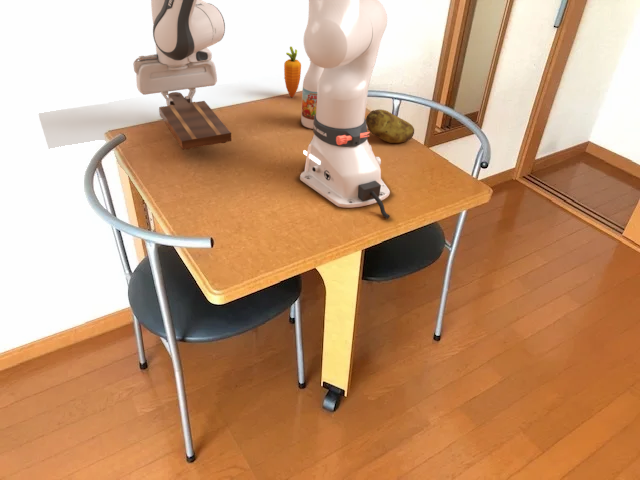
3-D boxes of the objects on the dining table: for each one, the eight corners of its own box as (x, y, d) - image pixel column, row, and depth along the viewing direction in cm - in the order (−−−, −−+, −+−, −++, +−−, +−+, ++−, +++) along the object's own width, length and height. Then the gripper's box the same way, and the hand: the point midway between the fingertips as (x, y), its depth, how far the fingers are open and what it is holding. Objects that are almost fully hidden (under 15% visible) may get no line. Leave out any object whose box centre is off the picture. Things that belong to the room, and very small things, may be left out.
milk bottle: (296, 119, 156) (299, 48, 144) (321, 116, 159) (325, 46, 147) (307, 131, 150) (311, 58, 138) (333, 127, 153) (338, 55, 141)
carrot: (299, 101, 166) (301, 51, 157) (282, 100, 166) (283, 50, 157) (300, 94, 170) (302, 45, 161) (284, 93, 170) (285, 44, 161)
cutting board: (231, 144, 134) (231, 132, 132) (182, 152, 129) (181, 140, 127) (195, 99, 153) (194, 88, 151) (152, 105, 148) (150, 94, 146)
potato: (408, 151, 145) (413, 122, 140) (361, 141, 147) (364, 113, 142) (414, 137, 151) (418, 110, 146) (368, 129, 154) (371, 102, 149)
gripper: (135, 61, 131) (143, 115, 139) (217, 52, 139) (220, 104, 148) (129, 52, 135) (137, 105, 144) (209, 44, 144) (212, 95, 152)
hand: (179, 104), depth 146 cm, fingers closed on cutting board, 3 cm apart
